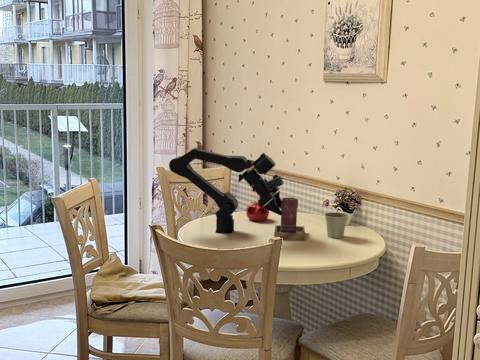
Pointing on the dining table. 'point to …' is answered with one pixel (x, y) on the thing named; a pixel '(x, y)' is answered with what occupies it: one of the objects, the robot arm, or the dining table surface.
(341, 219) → the flower pot
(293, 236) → the tray
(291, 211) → the can
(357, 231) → the dining table surface
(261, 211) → the pomegranate
